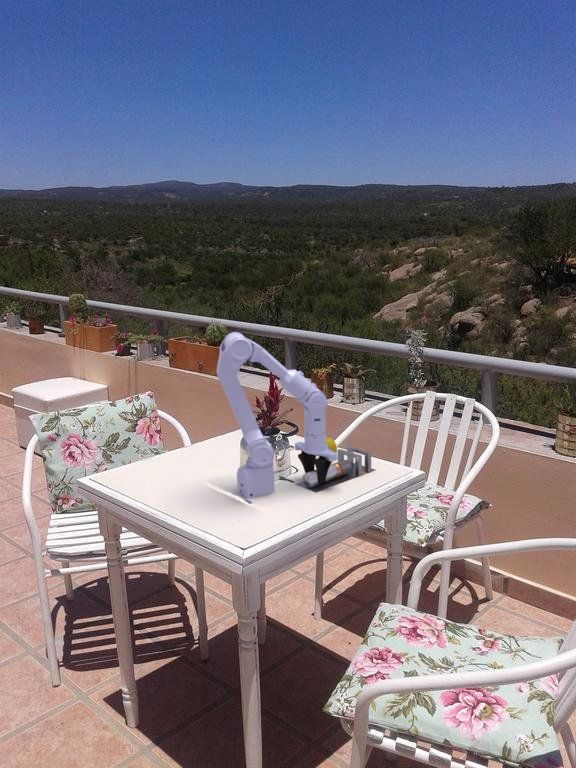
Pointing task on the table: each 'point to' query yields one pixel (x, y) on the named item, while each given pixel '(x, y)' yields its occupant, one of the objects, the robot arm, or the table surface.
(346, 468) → the tube
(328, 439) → the lemon
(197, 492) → the table surface
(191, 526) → the table surface
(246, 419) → the robot arm
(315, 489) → the grey holder stand
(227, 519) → the table surface
